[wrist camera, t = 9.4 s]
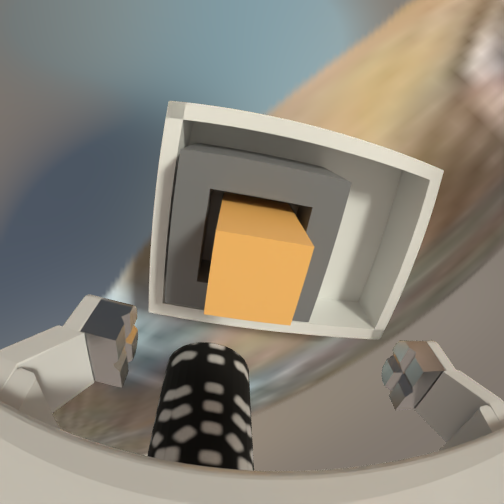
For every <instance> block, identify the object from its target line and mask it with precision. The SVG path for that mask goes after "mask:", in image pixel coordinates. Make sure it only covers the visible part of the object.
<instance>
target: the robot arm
mask: <svg viewBox="0 0 504 504" xmlns="http://www.w3.org/2000/svg"><path fill="white" fill-rule="evenodd" d="M136 320H137V308H136V306H134V305H130V304H126V303H122V302H118V301H114V300H110V299H106V298H101V297H98V296H94V295H90V294H89V295H86V296H85V297H84V298H83V300H82V301H81V302H80V304H79V305H78V306H77V308H76V309H75V310H74V312H73V313H72V314H71V316H70V317H69V318H68V320H67V321H66V323H65V324H64V325H63V327H62V326H59V325H58V326H55V327H53V328H50V329H48V330H46V331H43V332H41V333H39V334H36V335H34V336H32V337H29V338H27V339H24V340H22V341H20V342H17V343H15V344H13V345H11V346H8V347H6V348H3V349H1V350H0V504H504V402H503V401H502V399H500V398H499V397H497V396H496V395H494V394H493V393H492V392H490V391H489V390H487V389H486V388H484V387H482V386H481V385H480V384H478V383H477V382H476V381H474V380H472V379H471V378H470V377H468V376H467V375H465V374H464V373H462V372H461V371H459V370H456V369H455V368H454V366H453V365H452V363H451V362H450V360H449V359H448V357H447V356H446V355H445V353H444V352H443V350H442V349H441V347H440V346H439V345H438V343H437V342H435V341H402V340H400V341H399V342H398V343H396V345H395V347H394V348H393V355H392V356H391V357H390V358H388V359H387V360H386V362H385V364H384V366H383V369H382V381H383V383H384V385H385V386H386V387H387V388H388V389H389V390H390V394H389V397H390V399H391V402H392V404H393V406H394V409H395V410H406V409H414V410H415V411H416V412H417V413H418V414H419V415H420V416H421V417H422V418H423V419H424V420H425V421H426V422H427V423H428V424H429V425H430V427H431V428H432V429H434V431H436V432H437V434H438V435H439V436H441V437H442V439H443V440H444V441H445V442H446V444H444V445H443V446H442V447H441V448H440V449H439V451H436V452H432V453H428V454H424V455H420V456H416V457H411V458H406V459H402V460H397V461H392V462H386V463H380V464H373V465H366V466H359V467H351V468H341V469H330V470H315V471H252V470H236V469H225V468H215V467H206V466H199V465H192V464H185V463H179V462H174V461H168V460H163V459H158V458H153V457H149V456H144V455H140V454H136V453H132V452H128V451H124V450H121V449H117V448H114V447H110V446H107V445H104V444H100V443H97V442H94V441H91V440H88V439H85V438H82V437H79V436H77V435H74V434H71V433H69V432H66V431H63V430H61V429H60V427H59V425H58V424H57V422H56V420H55V418H54V416H53V414H52V413H53V412H55V411H56V410H57V409H59V408H60V407H62V406H63V405H64V404H66V403H67V402H68V401H70V400H71V399H73V398H74V397H75V396H77V395H78V394H79V393H81V392H82V391H83V390H85V389H86V388H88V387H89V386H90V385H92V384H93V383H94V381H97V382H101V383H105V384H108V385H112V386H117V387H121V388H122V387H123V384H124V382H125V379H126V376H127V374H128V363H129V362H130V361H132V360H133V358H134V355H135V352H136V347H137V340H138V330H137V328H136V327H135V326H134V324H135V322H136Z"/></svg>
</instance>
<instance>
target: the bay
mask: <svg viewBox="0 0 504 504" xmlns="http://www.w3.org/2000/svg"><path fill="white" fill-rule="evenodd" d="M443 172H444V170H442V169H440V168H437V167H435V166H432V165H430V164H428V163H425V162H423V161H420V160H418V159H415V158H412V157H410V156H407V155H404V154H402V153H399V152H396V151H394V150H391V149H388V148H385V147H382V146H379V145H376V144H373V143H370V142H367V141H364V140H361V139H358V138H354V137H351V136H348V135H344V134H341V133H338V132H334V131H330V130H327V129H323V128H319V127H316V126H312V125H308V124H304V123H300V122H295V121H291V120H287V119H282V118H278V117H273V116H268V115H263V114H258V113H253V112H247V111H242V110H236V109H230V108H223V107H217V106H209V105H202V104H194V103H186V102H176V101H169V103H168V108H167V114H166V120H165V125H164V132H163V138H162V145H161V152H160V159H159V166H158V175H157V184H156V192H155V202H154V212H153V225H152V237H151V253H150V274H149V312H150V313H155V314H160V315H166V316H171V317H177V318H183V319H189V320H195V321H201V322H208V323H214V324H221V325H228V326H235V327H243V328H251V329H259V330H267V331H276V332H285V333H295V334H306V335H317V336H330V337H344V338H360V339H380V338H381V336H382V334H383V332H384V330H385V328H386V326H387V324H388V322H389V320H390V318H391V316H392V313H393V311H394V309H395V307H396V305H397V303H398V300H399V298H400V296H401V294H402V291H403V289H404V287H405V284H406V282H407V279H408V277H409V275H410V272H411V270H412V267H413V265H414V262H415V259H416V257H417V254H418V252H419V249H420V246H421V243H422V241H423V238H424V235H425V232H426V229H427V226H428V223H429V220H430V217H431V214H432V211H433V207H434V204H435V201H436V197H437V194H438V191H439V187H440V183H441V180H442V176H443ZM224 192H228V193H233V194H239V195H245V196H251V197H256V198H262V199H267V200H273V201H278V202H283V203H288V204H289V206H290V207H291V209H292V210H293V212H294V214H295V215H296V217H297V219H298V220H299V222H300V224H301V225H302V227H303V228H304V230H305V232H306V233H307V235H308V237H309V238H310V240H311V242H312V243H313V245H314V250H313V254H312V257H311V261H310V264H309V267H308V271H307V274H306V277H305V281H304V284H303V287H302V290H301V294H300V297H299V300H298V303H297V306H296V310H295V313H294V316H293V319H292V322H291V325H290V326H289V325H280V324H272V323H263V322H255V321H247V320H240V319H233V318H226V317H219V316H212V315H206V314H204V308H205V301H206V294H207V286H208V279H209V273H210V266H211V259H212V252H213V246H214V239H215V233H216V228H217V223H218V218H219V213H220V209H221V204H222V199H223V195H224Z"/></svg>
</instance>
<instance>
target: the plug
mask: <svg viewBox="0 0 504 504" xmlns="http://www.w3.org/2000/svg"><path fill="white" fill-rule="evenodd" d="M313 250H314V245H313V243H312V242H311V240H310V238H309V237H308V235H307V233H306V232H305V230H304V228H303V227H302V225H301V224H300V222H299V220H298V219H297V217H296V215H295V214H294V212H293V210H292V209H291V207H290V206H289V204H288V203H283V202H278V201H273V200H267V199H262V198H256V197H251V196H245V195H239V194H233V193H228V192H224V195H223V199H222V204H221V209H220V213H219V218H218V223H217V228H216V233H215V239H214V246H213V252H212V259H211V266H210V273H209V279H208V286H207V294H206V301H205V308H204V314H206V315H212V316H219V317H226V318H233V319H240V320H247V321H255V322H263V323H272V324H280V325H289V326H290V325H291V322H292V319H293V316H294V313H295V310H296V306H297V303H298V300H299V297H300V294H301V290H302V287H303V284H304V281H305V277H306V274H307V271H308V267H309V264H310V261H311V257H312V254H313Z"/></svg>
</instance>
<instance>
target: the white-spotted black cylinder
mask: <svg viewBox="0 0 504 504" xmlns="http://www.w3.org/2000/svg"><path fill="white" fill-rule="evenodd" d="M148 456H149V457H153V458H158V459H163V460H168V461H174V462H179V463H185V464H192V465H199V466H206V467H215V468H225V469H236V470H252V471H254V463H253V445H252V427H251V408H250V388H249V370H248V366H247V364H246V362H245V360H244V359H243V358H242V357H241V356H240V355H239V354H238V353H236V352H235V351H233V350H232V349H229V348H227V347H225V346H222V345H219V344H213V343H194V344H189V345H186V346H183V347H181V348H179V349H178V350H177V351H175V352H174V353H173V354H172V356H171V357H170V359H169V362H168V365H167V369H166V373H165V378H164V382H163V386H162V390H161V395H160V399H159V404H158V408H157V413H156V417H155V422H154V427H153V431H152V436H151V441H150V446H149V451H148Z"/></svg>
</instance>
